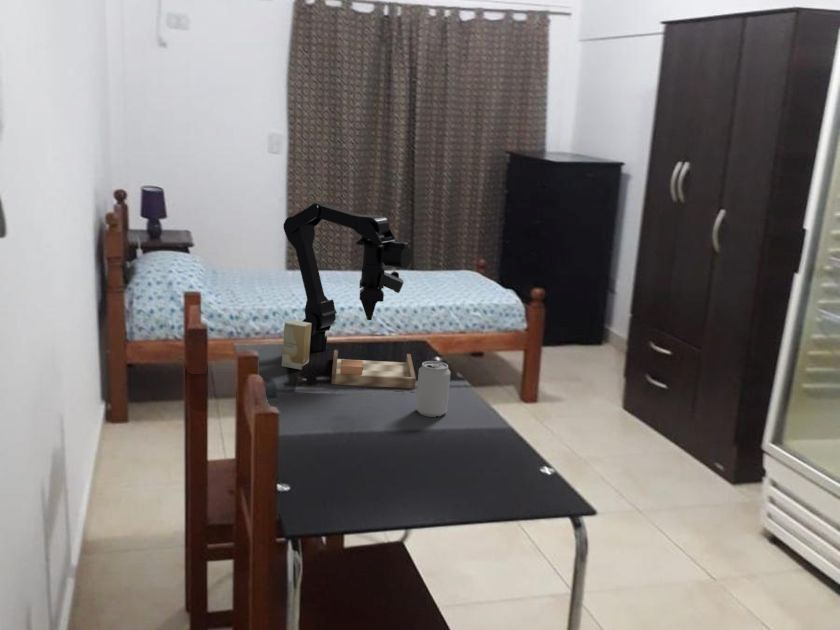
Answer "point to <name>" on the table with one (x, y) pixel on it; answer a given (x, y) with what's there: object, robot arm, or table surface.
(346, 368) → the rust block
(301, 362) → the skincare box
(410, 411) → the table surface
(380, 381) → the tray
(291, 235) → the robot arm
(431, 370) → the can
